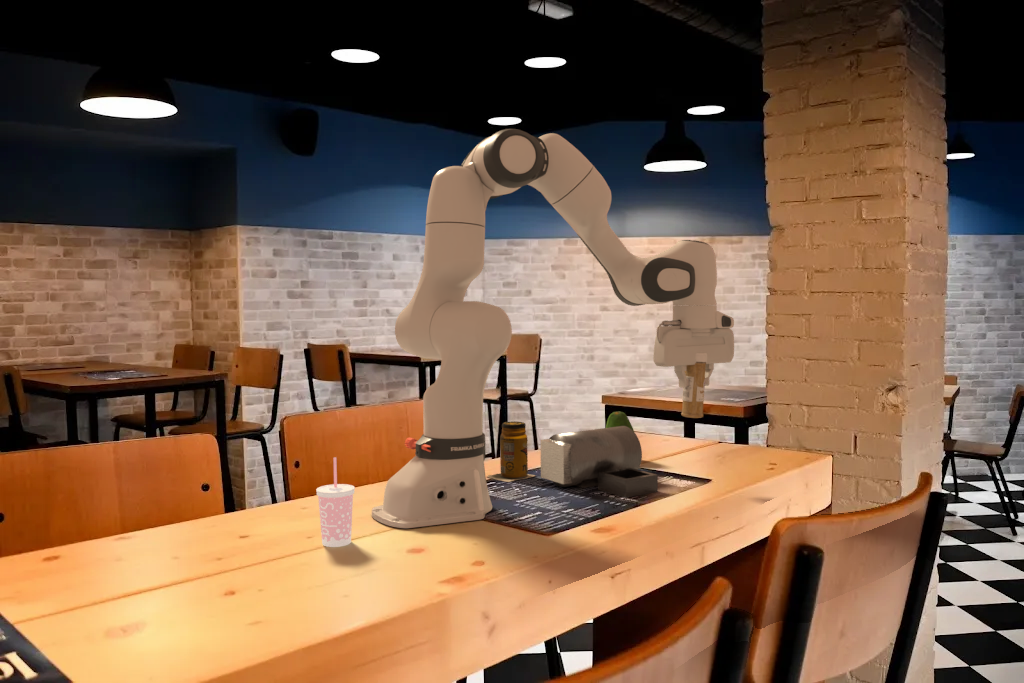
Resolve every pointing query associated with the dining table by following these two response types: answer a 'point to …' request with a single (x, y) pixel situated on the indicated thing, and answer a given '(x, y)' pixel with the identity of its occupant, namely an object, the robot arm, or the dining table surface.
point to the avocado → (618, 420)
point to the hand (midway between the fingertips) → (694, 386)
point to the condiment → (513, 453)
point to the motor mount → (597, 461)
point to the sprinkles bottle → (695, 388)
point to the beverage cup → (336, 512)
